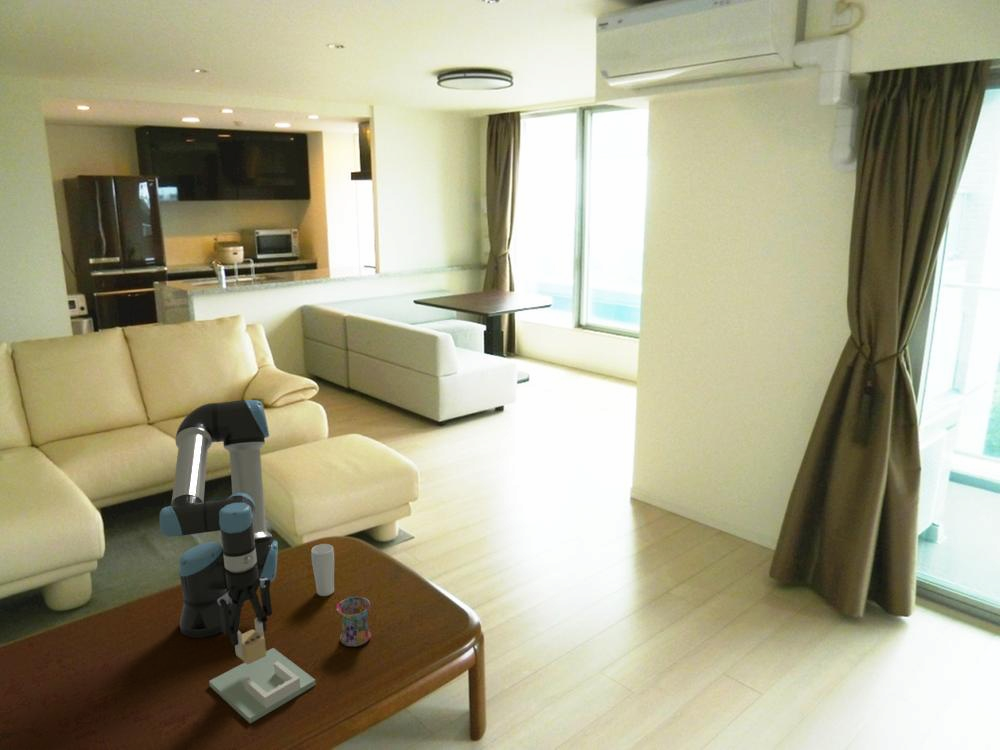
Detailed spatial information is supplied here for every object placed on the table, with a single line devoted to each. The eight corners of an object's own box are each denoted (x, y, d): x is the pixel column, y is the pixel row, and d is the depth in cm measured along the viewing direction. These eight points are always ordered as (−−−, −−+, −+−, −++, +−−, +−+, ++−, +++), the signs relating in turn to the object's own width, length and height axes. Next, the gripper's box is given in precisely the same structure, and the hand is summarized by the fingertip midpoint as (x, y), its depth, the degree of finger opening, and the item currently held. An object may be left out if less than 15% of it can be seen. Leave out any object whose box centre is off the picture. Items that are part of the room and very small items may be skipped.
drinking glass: (338, 586, 223) (335, 543, 219) (334, 597, 216) (331, 553, 213) (317, 586, 223) (313, 543, 219) (312, 598, 216) (308, 554, 212)
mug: (373, 646, 192) (371, 612, 190) (339, 652, 190) (336, 617, 187) (370, 622, 203) (368, 589, 201) (338, 627, 201) (335, 594, 199)
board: (209, 686, 177) (207, 670, 176) (273, 652, 190) (272, 638, 189) (250, 723, 164) (248, 707, 163) (315, 684, 177) (314, 669, 176)
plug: (236, 655, 178) (234, 636, 177) (254, 646, 182) (252, 628, 181) (247, 664, 174) (246, 646, 173) (266, 655, 178) (264, 637, 177)
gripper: (213, 585, 163) (223, 672, 169) (282, 556, 176) (289, 638, 182) (198, 574, 168) (208, 659, 174) (266, 547, 181) (274, 627, 187)
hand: (250, 648), depth 178 cm, fingers closed on plug, 5 cm apart
